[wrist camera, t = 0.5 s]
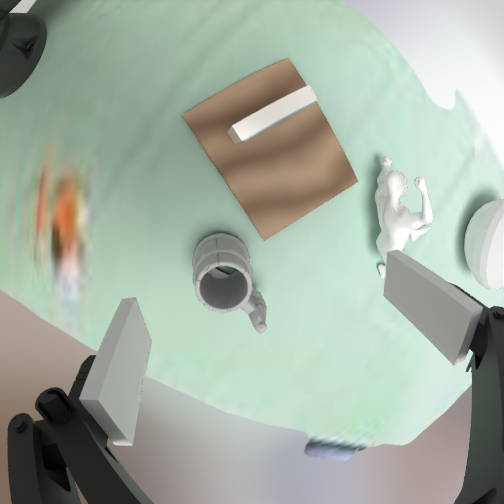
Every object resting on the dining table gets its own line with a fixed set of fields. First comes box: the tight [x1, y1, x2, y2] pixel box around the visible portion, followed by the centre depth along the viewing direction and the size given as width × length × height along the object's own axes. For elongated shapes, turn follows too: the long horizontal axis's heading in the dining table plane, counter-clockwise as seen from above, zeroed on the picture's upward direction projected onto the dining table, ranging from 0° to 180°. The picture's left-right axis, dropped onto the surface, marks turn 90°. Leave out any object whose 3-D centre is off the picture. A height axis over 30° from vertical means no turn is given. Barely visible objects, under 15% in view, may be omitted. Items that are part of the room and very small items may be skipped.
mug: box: [193, 233, 267, 334], centre depth 36 cm, size 8×12×12 cm, turn 41°
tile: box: [227, 85, 318, 144], centre depth 29 cm, size 2×9×9 cm, turn 121°
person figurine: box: [375, 156, 432, 278], centre depth 38 cm, size 13×13×18 cm
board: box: [182, 58, 358, 241], centre depth 36 cm, size 20×16×1 cm
